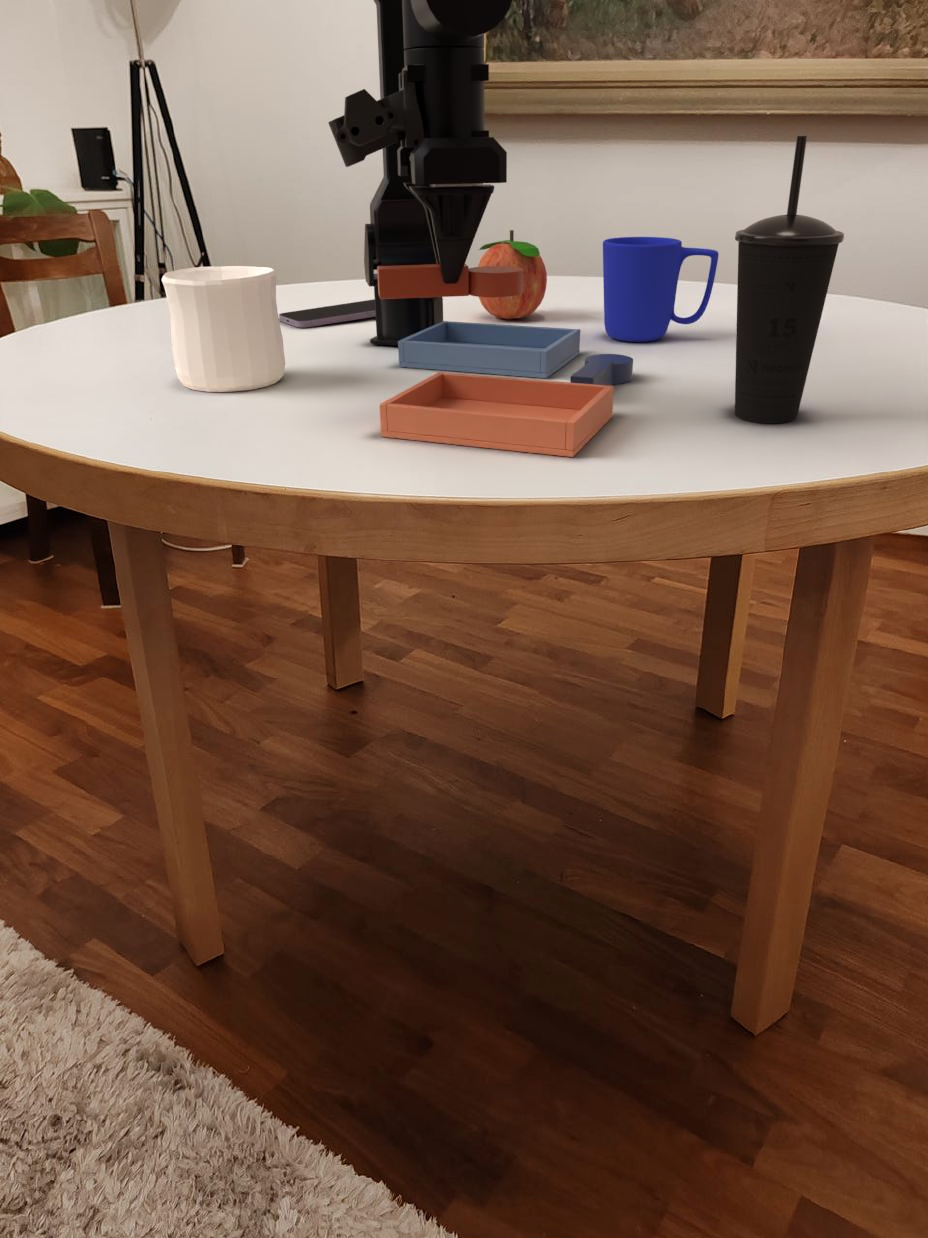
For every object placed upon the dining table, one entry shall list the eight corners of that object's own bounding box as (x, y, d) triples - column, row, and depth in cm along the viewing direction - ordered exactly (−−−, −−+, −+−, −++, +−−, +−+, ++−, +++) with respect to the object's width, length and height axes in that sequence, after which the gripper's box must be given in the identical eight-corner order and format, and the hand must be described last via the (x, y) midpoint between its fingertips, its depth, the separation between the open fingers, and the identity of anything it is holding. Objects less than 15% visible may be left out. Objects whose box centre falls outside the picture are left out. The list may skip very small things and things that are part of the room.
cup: (171, 375, 91) (154, 268, 87) (274, 365, 95) (263, 261, 90) (184, 398, 84) (166, 281, 79) (295, 386, 87) (285, 274, 82)
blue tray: (398, 366, 93) (397, 340, 92) (443, 344, 103) (443, 320, 101) (546, 378, 88) (547, 351, 87) (579, 353, 97) (580, 329, 96)
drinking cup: (703, 404, 79) (731, 136, 70) (792, 401, 80) (831, 134, 71) (734, 430, 72) (769, 136, 63) (831, 426, 73) (880, 134, 64)
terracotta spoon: (380, 301, 72) (378, 271, 71) (377, 292, 76) (376, 264, 75) (527, 296, 74) (527, 266, 73) (517, 288, 78) (517, 259, 77)
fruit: (518, 308, 122) (519, 225, 117) (563, 319, 115) (566, 231, 110) (461, 315, 118) (460, 229, 113) (503, 327, 111) (503, 235, 106)
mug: (710, 347, 99) (721, 245, 95) (595, 344, 102) (600, 244, 97) (708, 332, 107) (718, 236, 102) (600, 329, 109) (605, 236, 104)
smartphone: (275, 313, 117) (382, 297, 124) (276, 322, 118) (383, 306, 124) (299, 322, 112) (410, 304, 118) (300, 331, 112) (410, 314, 119)
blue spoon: (606, 404, 80) (607, 378, 79) (555, 400, 81) (556, 374, 80) (636, 374, 89) (638, 351, 88) (591, 371, 90) (592, 348, 89)
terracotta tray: (380, 436, 72) (379, 404, 71) (439, 401, 82) (438, 371, 80) (573, 457, 67) (574, 422, 66) (612, 416, 76) (614, 385, 75)
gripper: (329, 60, 75) (344, 269, 82) (330, 38, 58) (348, 303, 65) (469, 59, 76) (472, 265, 83) (508, 37, 59) (507, 297, 67)
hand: (448, 281), depth 75 cm, fingers closed on terracotta spoon, 2 cm apart
